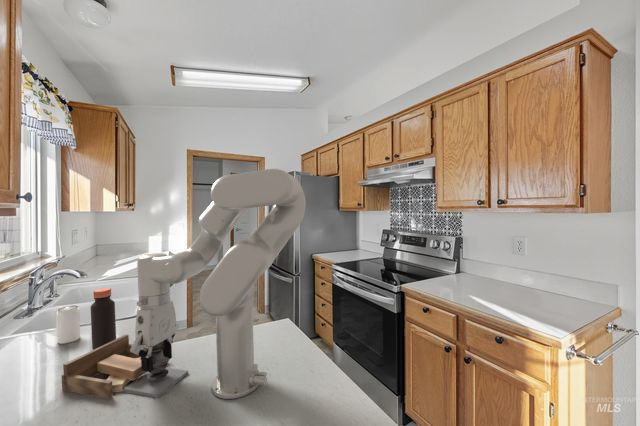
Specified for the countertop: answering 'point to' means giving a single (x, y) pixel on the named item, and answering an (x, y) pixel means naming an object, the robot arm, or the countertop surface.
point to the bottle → (102, 318)
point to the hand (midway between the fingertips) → (157, 363)
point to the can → (68, 324)
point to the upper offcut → (121, 367)
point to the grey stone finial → (158, 363)
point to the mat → (156, 383)
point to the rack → (94, 369)
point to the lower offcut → (118, 382)
